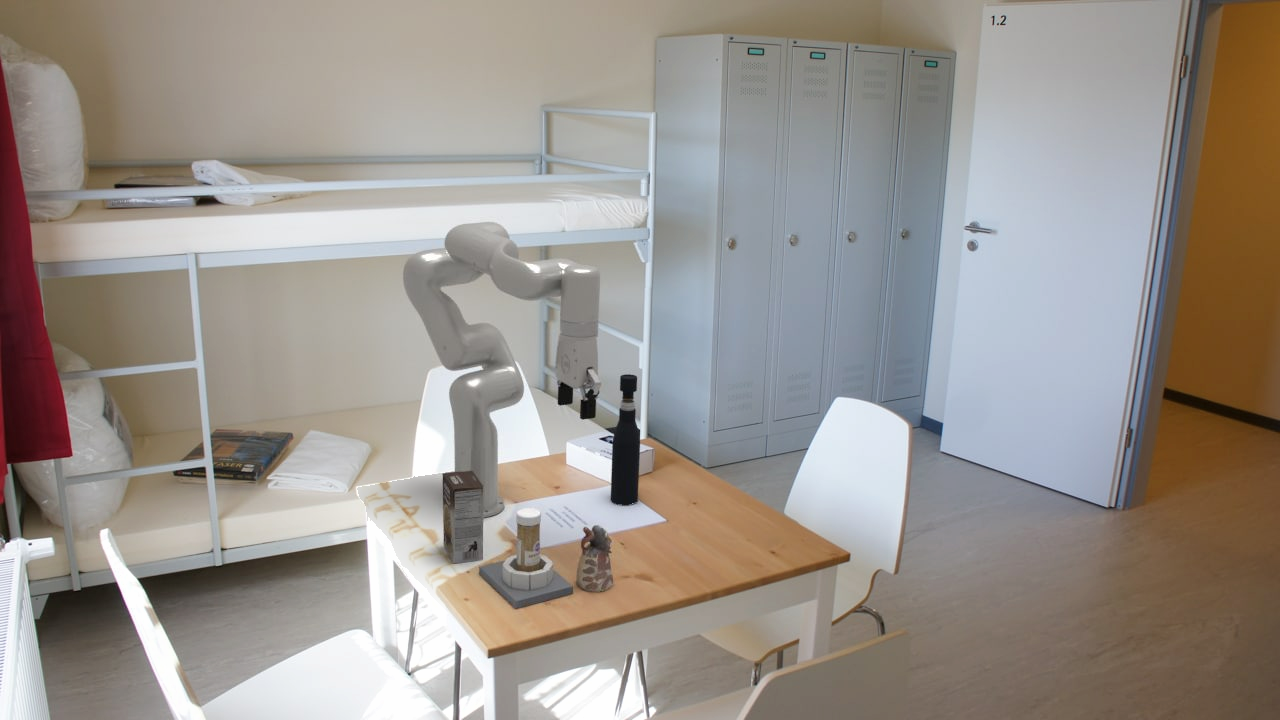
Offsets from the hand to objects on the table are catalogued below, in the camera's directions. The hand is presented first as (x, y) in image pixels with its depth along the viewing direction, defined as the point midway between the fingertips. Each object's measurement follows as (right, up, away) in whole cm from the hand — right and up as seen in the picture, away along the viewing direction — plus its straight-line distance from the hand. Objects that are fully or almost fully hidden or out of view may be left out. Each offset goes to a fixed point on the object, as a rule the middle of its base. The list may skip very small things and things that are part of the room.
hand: (576, 411), depth 201 cm
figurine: (+4, -33, -8) cm, 34 cm away
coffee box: (-23, -29, +3) cm, 37 cm away
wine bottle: (+9, -23, +33) cm, 41 cm away
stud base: (-9, -33, -10) cm, 35 cm away
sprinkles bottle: (-9, -31, -10) cm, 34 cm away
